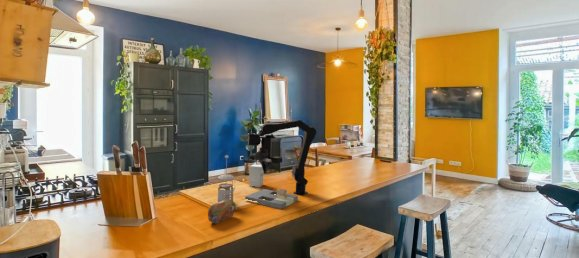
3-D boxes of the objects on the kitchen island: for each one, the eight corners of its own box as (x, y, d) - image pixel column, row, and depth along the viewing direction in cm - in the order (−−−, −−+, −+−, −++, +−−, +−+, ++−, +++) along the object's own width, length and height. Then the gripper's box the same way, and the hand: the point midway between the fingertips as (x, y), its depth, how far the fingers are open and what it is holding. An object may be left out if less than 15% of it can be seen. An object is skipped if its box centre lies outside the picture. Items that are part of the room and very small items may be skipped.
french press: (211, 204, 164) (212, 155, 162) (226, 198, 175) (227, 152, 172) (226, 208, 160) (228, 157, 158) (241, 202, 170) (242, 154, 168)
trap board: (263, 193, 188) (264, 188, 188) (297, 200, 178) (298, 195, 178) (245, 200, 173) (245, 196, 173) (281, 209, 162) (281, 204, 162)
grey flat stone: (211, 226, 137) (212, 206, 137) (206, 224, 139) (206, 205, 138) (235, 216, 150) (236, 198, 149) (230, 214, 152) (231, 197, 151)
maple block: (280, 196, 176) (280, 188, 175) (286, 197, 174) (287, 190, 173) (276, 197, 172) (276, 190, 172) (283, 199, 170) (283, 191, 170)
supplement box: (260, 187, 200) (260, 167, 199) (248, 186, 201) (249, 166, 200) (263, 184, 207) (264, 164, 206) (252, 183, 209) (253, 163, 208)
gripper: (244, 145, 182) (243, 173, 183) (272, 149, 173) (271, 178, 175) (255, 143, 192) (254, 169, 193) (283, 147, 183) (282, 174, 184)
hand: (265, 173), depth 186 cm, fingers closed
